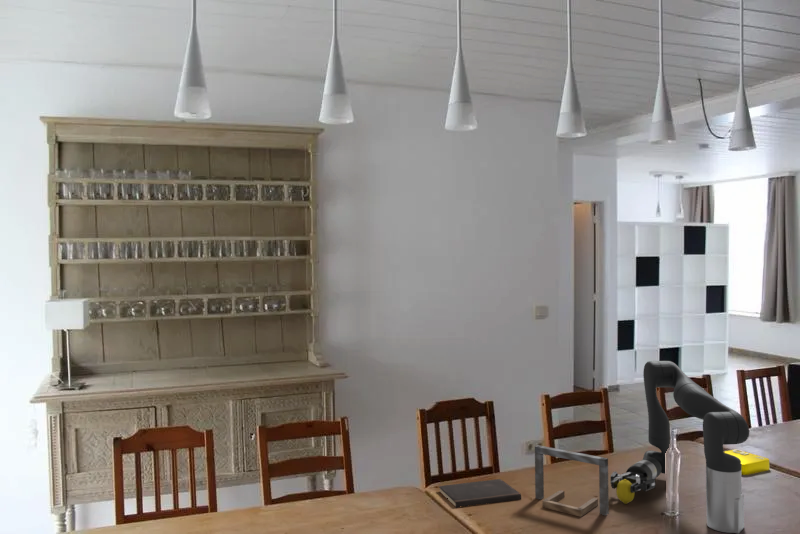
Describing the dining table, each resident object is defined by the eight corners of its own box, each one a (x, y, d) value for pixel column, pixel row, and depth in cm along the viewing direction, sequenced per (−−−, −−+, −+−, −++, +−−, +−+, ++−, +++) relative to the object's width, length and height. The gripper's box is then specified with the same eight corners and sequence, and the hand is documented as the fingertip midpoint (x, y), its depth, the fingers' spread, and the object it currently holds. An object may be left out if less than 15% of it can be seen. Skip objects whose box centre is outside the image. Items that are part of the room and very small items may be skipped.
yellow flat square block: (708, 465, 247) (708, 452, 247) (735, 459, 253) (735, 447, 253) (744, 476, 233) (744, 463, 233) (772, 470, 240) (771, 457, 240)
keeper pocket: (614, 509, 203) (614, 454, 203) (598, 521, 194) (597, 464, 194) (545, 492, 219) (544, 442, 219) (527, 503, 210) (526, 450, 209)
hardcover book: (438, 492, 222) (438, 485, 222) (500, 485, 228) (500, 478, 228) (455, 509, 206) (455, 502, 206) (521, 501, 213) (521, 494, 213)
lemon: (636, 507, 204) (635, 482, 204) (617, 506, 205) (617, 481, 205) (633, 501, 210) (633, 476, 210) (615, 500, 211) (615, 475, 211)
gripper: (620, 458, 223) (600, 471, 210) (663, 466, 214) (644, 480, 201) (620, 480, 223) (600, 494, 210) (663, 489, 214) (645, 504, 201)
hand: (622, 487), depth 205 cm, fingers closed on lemon, 5 cm apart
